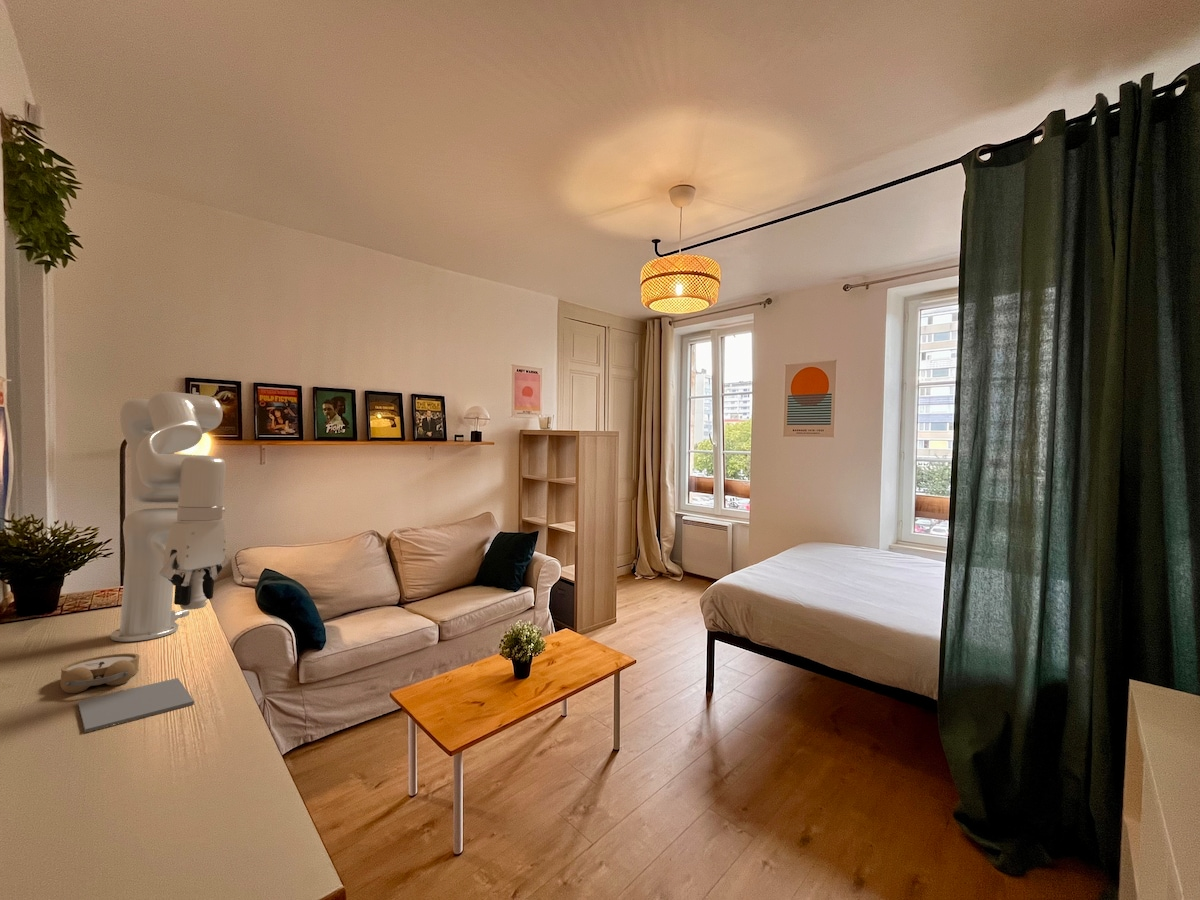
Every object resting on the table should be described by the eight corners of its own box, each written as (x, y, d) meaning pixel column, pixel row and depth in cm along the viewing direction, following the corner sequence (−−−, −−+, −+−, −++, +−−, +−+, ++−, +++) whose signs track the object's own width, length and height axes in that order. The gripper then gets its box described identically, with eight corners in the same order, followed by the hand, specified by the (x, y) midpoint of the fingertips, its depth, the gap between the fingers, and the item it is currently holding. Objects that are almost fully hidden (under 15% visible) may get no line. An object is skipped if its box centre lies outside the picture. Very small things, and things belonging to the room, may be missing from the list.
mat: (77, 704, 90) (77, 700, 90) (177, 680, 100) (177, 677, 100) (84, 733, 81) (85, 729, 81) (193, 704, 91) (194, 701, 91)
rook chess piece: (177, 610, 101) (180, 571, 102) (182, 605, 105) (185, 567, 106) (204, 608, 103) (207, 570, 104) (209, 603, 107) (211, 566, 108)
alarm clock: (140, 649, 108) (138, 658, 98) (138, 673, 108) (136, 685, 97) (65, 661, 101) (54, 672, 90) (63, 686, 100) (51, 701, 89)
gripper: (221, 510, 114) (215, 590, 113) (143, 517, 97) (135, 610, 97) (249, 512, 113) (243, 593, 112) (175, 519, 96) (168, 614, 95)
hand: (193, 600), depth 104 cm, fingers closed on rook chess piece, 4 cm apart
